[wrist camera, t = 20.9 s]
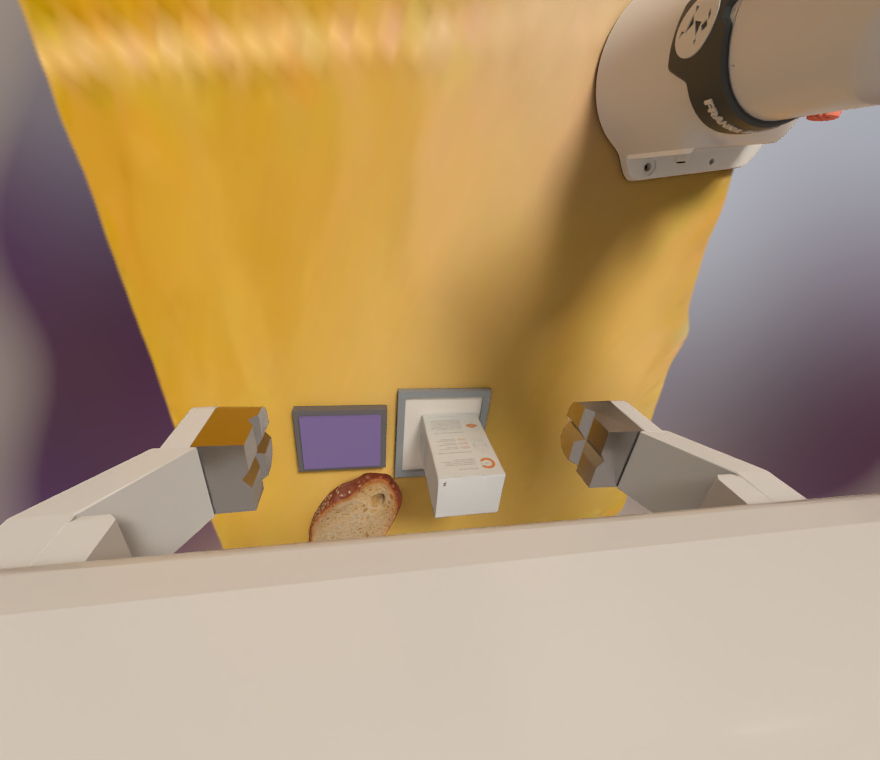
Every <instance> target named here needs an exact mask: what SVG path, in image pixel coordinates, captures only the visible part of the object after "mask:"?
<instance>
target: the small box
mask: <svg viewBox="0 0 880 760" xmlns="http://www.w3.org/2000/svg"><path fill="white" fill-rule="evenodd" d="M420 452H421V457H422V462H423V467H424V471H425V476H426V480H427V484H428V489H429V494H430V498H431V503H432V507H433V511H434V516H435V518H440V517H450V516H460V515H471V514H481V513H492V512H498V507H499V503H500V498H501V494H502V489H503V485H504V481H505V476H506V474H505V472H504V470H503V468H502V466H501V464H500V462H499V460H498V458H497V456H496V454H495V451H494V449H493V447H492V445H491V443H490V441H489V439H488V437H487V435H486V433H485V431H484V429H483V427H482V425H481V423H480V421H479V419H478V417H477V415H476V413H462V414H437V415H422V428H421V443H420Z"/></svg>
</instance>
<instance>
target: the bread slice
mask: <svg viewBox="0 0 880 760" xmlns="http://www.w3.org/2000/svg"><path fill="white" fill-rule="evenodd" d="M401 503H402V495H401V491H400V489H399V487H398V485H397V484H396V483H395V482H394V480H393V479H392V477H391V476H390V475H387V474H380V473H366V474H363V475H362V476H360V477H359V478H357V479H355V480H352V481H350V482H347V483H344V484H342V485H340V486H339V487H337V488H336V489H334V490H333V491H332V492H330V493H329V494H328V496H327V497H326V498H325V499H324V500H323V502H322V503H321V505H320V506H319V507H318V509H317V511H316V512H315V514H314V517H313V520H312V524H311V526H310V532H309V542H318V541H329V540H341V539H353V538H364V537H376V536H384V535H385V534H386V533H387V531H388V530H389V528H390V526H391V525H392V524H393V521H394V519H395V517H396V515H397V513H398V511H399V509H400V506H401Z"/></svg>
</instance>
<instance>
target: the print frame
mask: <svg viewBox="0 0 880 760" xmlns="http://www.w3.org/2000/svg"><path fill="white" fill-rule="evenodd" d="M491 393H492V390H491V389H490V388H446V389H398V406H397V430H396V454H395V478H401V477H419V476H425V471H424V467H423V462H422V457H421V452H420V443H421V428H422V415H437V414H462V413H476V415H477V417H478V419H479V421H480V423H481V425H482V427H483V429H484V431H485V427H486V421H487V415H488V410H489V404H490V398H491Z"/></svg>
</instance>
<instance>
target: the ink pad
mask: <svg viewBox="0 0 880 760" xmlns="http://www.w3.org/2000/svg"><path fill="white" fill-rule="evenodd" d="M292 413H293V422H294V430H295V439H296V448H297V457H298V466H299V472H302V471H322V470H342V469H362V468H382V467H386V430H387V405H351V406H294V408H293V411H292Z"/></svg>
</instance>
